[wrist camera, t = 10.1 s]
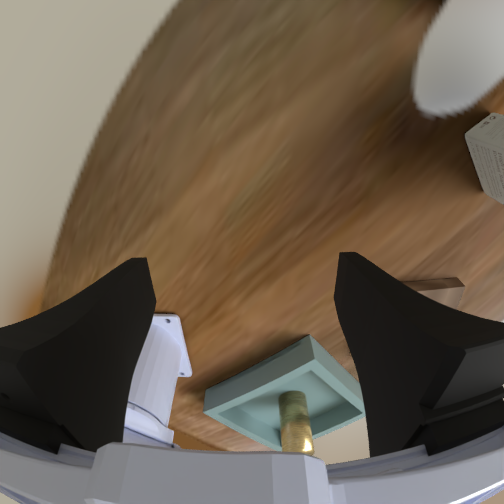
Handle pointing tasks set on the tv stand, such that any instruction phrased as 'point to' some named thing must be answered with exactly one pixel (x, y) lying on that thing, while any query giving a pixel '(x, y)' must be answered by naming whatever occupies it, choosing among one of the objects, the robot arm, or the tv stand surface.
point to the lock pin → (295, 423)
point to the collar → (440, 290)
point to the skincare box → (489, 154)
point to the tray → (283, 380)
